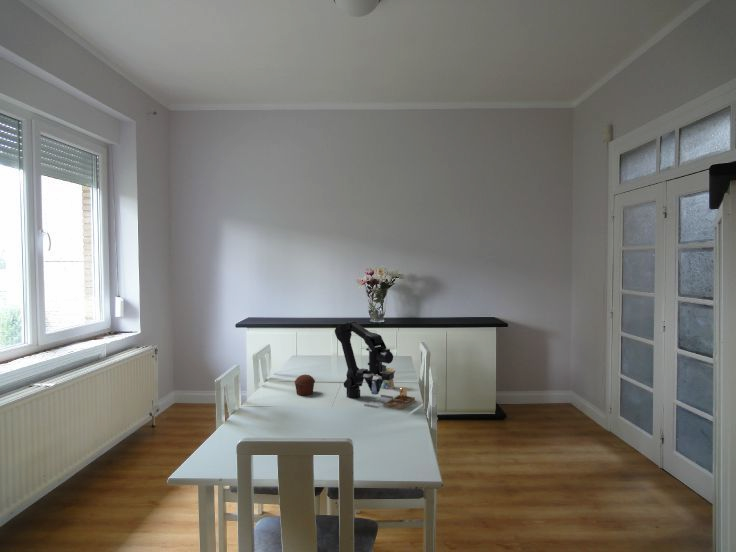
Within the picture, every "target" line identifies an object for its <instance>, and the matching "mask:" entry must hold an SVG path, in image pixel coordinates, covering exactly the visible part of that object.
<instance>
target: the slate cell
mask: <svg viewBox="0 0 736 552" xmlns="http://www.w3.org/2000/svg"><path fill="white" fill-rule="evenodd" d="M370 392H371V395H376V396H377V395H379V393H380V391H379V392H378V391H377V379H375V378H374V379H372V380H371V390H370Z"/></svg>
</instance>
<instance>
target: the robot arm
mask: <svg viewBox="0 0 736 552" xmlns="http://www.w3.org/2000/svg"><path fill="white" fill-rule="evenodd" d="M352 332H353V333H354V334H355V335H357V336H358V337H360V338H361V339H363V341H364V344H365V345H367V346H368V347H366V348H365V350H366V351H368V362H367V366H368V369H367V368H359V367H358V366H357V361H356V357H355V354H354V350H353V346H352V342H351V338H352ZM334 333H335V334H334V335H335V337H336V339H337V340H338V342H340V344H341V347H342V351H343V355H344V359H345V360H344V361H345V363H346V367H347V371H346V379H345V380H344V381H343V383H342V384H343V388H345V389H346V398H348V399H350V400H351V399H353V400H354V399H360V398H361V389H360V387H362V386H363V383H364V381H365V382H366V384H367V386H368V388H369V390H370V391H371V380H374V379H373V378H374V377H378V378H377V379H376V380H377V391H378V392H379V393H380V391H381V389H382V388H381V385H382V383H383V381H384V380H391V379H393V380H394V378H395V373H394V374H393V372H386V368H387V365H385V364H391V363H393V360H394V355H393V353H392V351H391V349H390V348H387V345H386V344H385V342H384V339H383V337H382V335H381V334H378V333H376V332H371V331H369V330H367V328H365V327H363V326H362V325H360V324H359V323H358V322H357V321H355V320H353V321H352V320H351V321H348V322H346V323H344V324H342V325H337V326H336V327H335V329H334ZM383 363H384V364H383ZM381 372H385V373H381Z"/></svg>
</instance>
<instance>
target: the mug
mask: <svg viewBox="0 0 736 552" xmlns="http://www.w3.org/2000/svg"><path fill="white" fill-rule="evenodd" d="M386 372H393V374H394V375H395V372H396V369H395V368H392V367H386ZM381 373H385V372H381ZM395 387H396V386H395V383H394V378H393V379H391V380H384V381H383V383H382V385H381V388H380V389H383V390H392V389H395Z"/></svg>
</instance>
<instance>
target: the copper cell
mask: <svg viewBox="0 0 736 552" xmlns="http://www.w3.org/2000/svg"><path fill="white" fill-rule="evenodd" d="M399 395H400V400H404V401H407V396H408V388H407V387H405V386H400V387H399Z"/></svg>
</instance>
